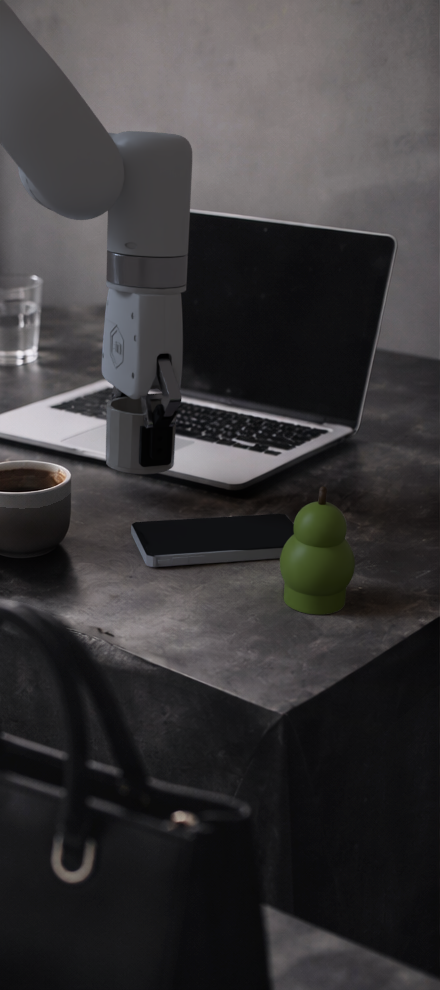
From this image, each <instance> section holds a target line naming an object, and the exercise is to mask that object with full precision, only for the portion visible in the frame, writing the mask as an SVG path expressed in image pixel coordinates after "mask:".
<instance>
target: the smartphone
mask: <svg viewBox="0 0 440 990" xmlns="http://www.w3.org/2000/svg"><path fill="white" fill-rule="evenodd" d="M130 531H131V532H130V534H131V536H132V539H133V541H134V542H135V544H136V547H137V549H138V551H139V553H140V555H141V557H142V560H143V561H144V564H145V566H148V567H151V568H159V567H174V566H187V565H200V564H203V565H204V564H215V563H216V564H217V563H231V562H245V561H258V560H272V559H273V560H274V559H280V556H281V552H282V549H283V547H284V545H285V544H286V542H287V541H288V539H289V538H290V537H291V536H292V535H294V522H293V521H292V520H291V519H290V518H289V517H288V516H287V514H285V513H265V514H264V513H263V514H247V515H246V514H245V515H231V516H230V515H229V516H214V517H213V516H212V517H194V518H179V519H177V518H176V519H163V520H161V519H160V520H145V521H144V520H143V521H134V522H132V523H131V530H130Z"/></svg>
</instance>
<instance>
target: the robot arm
mask: <svg viewBox="0 0 440 990" xmlns="http://www.w3.org/2000/svg"><path fill="white" fill-rule="evenodd" d="M0 145H1V147H2V148H3V149H4V150H5V151H6V153H7V154H8V155H9V156H10V158H11V159H12V160H13V162H14V164H16V166H17V170H18V176H19V179H20V182H21V184H22V186H23V188H24V190H25V191H26V193H27V194H28V195H29V196H30V197H31V198H32V199H33V200H34V201H35V202H36V203H37V204H39V205H41V206H43V207H44V208H46V209H47V210H49V211H52V212H53V213H56V214H57V215H60V216H61V217H64V218H66V219H70V220H76V221H88V220H92V219H95V218H98V217H100V216H102V215H104V214H105V213H107V229H106V230H107V231H106V233H107V234H106V239H107V240H106V279H105V280H106V283H105V285H106V287H107V288H108V290H107V297H106V302H105V313H104V322H103V337H102V351H101V352H102V353H101V374H102V377H103V379H105V381H107V382H108V383H109V384H110V385H112V391H111V400H113V399H115V398H121V397H130V398H131V399H139V398H141V406H142V413H143V420H144V426H140V440H139V464H140V465H141V466H142V467H151V466H161V465H169V464H170V463H171V459H172V438H173V427H174V425H175V416H176V417H177V413H178V408H179V406H180V404H181V402H182V399H183V398H182V393H181V386H182V379H183V377H182V376H183V362H184V361H183V358H184V357H183V356H184V353H183V352H184V330H183V329H184V328H183V325H184V324H183V304H182V303H183V302H182V293H185V292H186V291H187V282H188V281H187V280H188V259H189V258H188V257H189V256H188V255H189V240H190V219H191V197H192V196H191V195H192V178H193V177H192V176H193V148H192V145H191V143H190V142H189V140H188V138H186V137H184V136H183V135H179V134H175V133H167V132H157V131H142V130H141V131H140V130H139V131H138V130H135V131H134V130H127V131H121V132H118V133H116V132H115V133H114V132H108V131H107V129H106V128H105V127H104V124H103V123H102V122H101V121H100V119H99V118H98V117H97V115H96V113H94V111H93V110H92V108H91V107H90V106H89V104H88V103H87V102H86V100H85V99H84V97H83V96H82V95H81V94H80V92H79V90H78V89H77V88H76V87H75V85H74V84H73V83H72V81H71V80H70V79H69V78H68V77H67V75H66V74H65V73H64V71H63V70H62V69H61V67H60V66H59V65H58V64H57V62H56V61H55V60H54V59H53V58H52V56H51V55H50V54H49V53H48V51H47V50H45V48H44V47H43V46H42V45H41V43H39V41H38V40H37V39H36V38H35V36H33V35H32V33H31V32H30V31H29V29H28V28H27V27H26V26H25V25H24V23H23V21H21V19H20V18H19V17H18V15H17V14H16V12H15V11H14V10H13V9H12V8H11V7H10V6H9V5H8V3H7V2H6V1H5V0H0ZM151 390H159V391H160V392H158V393H157V392H156V393H149V392H150V391H151ZM158 401H161V404H158V405H157V406H156V407H155V409H154V411H153V412H152V408H151V402H158Z"/></svg>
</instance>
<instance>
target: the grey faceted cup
mask: <svg viewBox="0 0 440 990" xmlns="http://www.w3.org/2000/svg"><path fill="white" fill-rule="evenodd" d="M158 404H161V401H158V402H151V408H152V412H153V411H154V409H155V407H156V406H157V405H158ZM105 421H106V422H105V423H106V425H105V463H106V465H107V467H109V468H110V469H112V470H115V471H118V472H121V473H126V474H133V475H155V474H160V473H164V472H167V471H170V470H171V469H173V467H174V465H175V451H176V433H177V432H176V431H177V415H176V416H175V425H174V427H173V438H172V459H171V463H170V464H169V465H161V466H151V467H142V466H141V465H140V464H139V440H140V426H144V420H143V413H142V406H141V398H139V399H131V398H130V397H121V398H115V399H113V400H112V399H111V400H108V401H107V404H106V419H105Z"/></svg>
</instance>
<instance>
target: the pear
mask: <svg viewBox="0 0 440 990" xmlns="http://www.w3.org/2000/svg"><path fill="white" fill-rule="evenodd" d="M327 497H328V488H327V487H326V486H323V485H322V486H320V488H319V489H318V501H313V502H310V503H307V504H306V505H304V506H303V507H301V508H300V510H299V511H298V513H297V514H296V516H295V518H294V520H293V521H294V522H293V524H294V535H292V536H291V537H290V538H289V539H288V541H287V542H286V544H285V545H284V547H283V549H282V552H281V556H280V558H279V570H280V575H281V578H282V580H283V582H284V584H283V602H284V604H286V606H287V607H289V608H290V609H292V610H294V611H297V612H299V613H303V614H307V615H318V616H321V615H323V616H324V615H329V614H335V613H338V612H339V611H341V610H342V609H343V608H344V607H345V605H346V597H347V588H348V586H349V585H350V583H351V581H352V579H353V576H354V574H355V568H356V560H355V555H354V551H353V548H352V546H351V545H350V543H349V541H348V540H347V538H346V537H347V532H348V524H347V520H346V517H345V516H344V513H343V512H342V511H341V510H340V509H339V508H338V507H337V506H336V505H334V504H332V503H331V502H327Z"/></svg>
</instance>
